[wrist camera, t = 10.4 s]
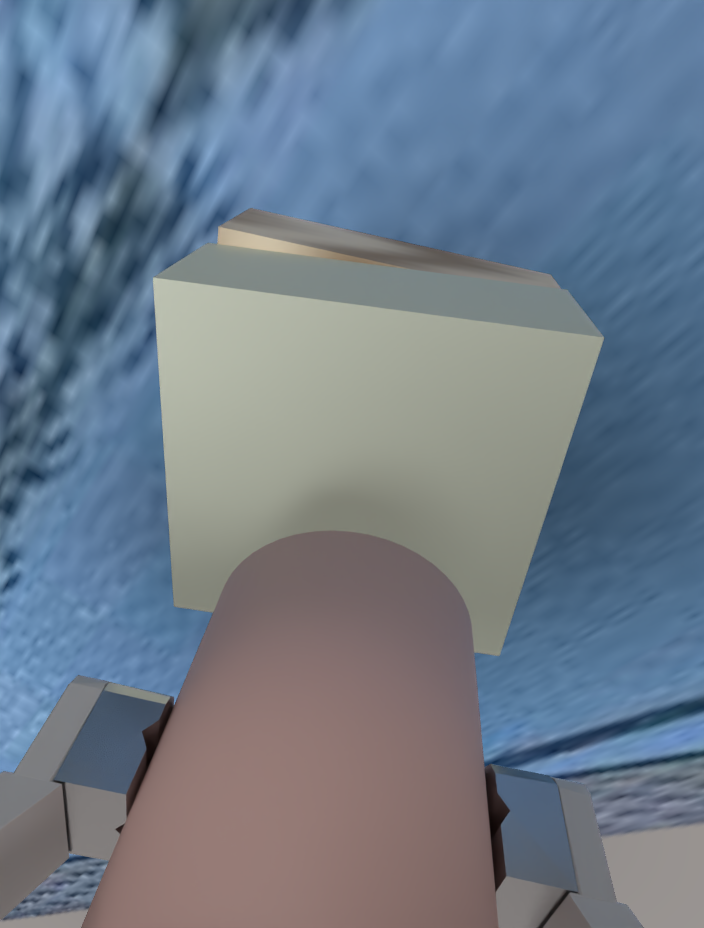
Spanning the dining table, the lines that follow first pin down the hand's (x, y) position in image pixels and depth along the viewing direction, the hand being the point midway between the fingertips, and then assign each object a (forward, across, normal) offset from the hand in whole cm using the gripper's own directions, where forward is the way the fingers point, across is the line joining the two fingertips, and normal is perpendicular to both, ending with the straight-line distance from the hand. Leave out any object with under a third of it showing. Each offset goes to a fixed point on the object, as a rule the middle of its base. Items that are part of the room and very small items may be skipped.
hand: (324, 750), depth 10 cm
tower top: (+11, 0, 0) cm, 11 cm away
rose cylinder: (+3, 0, 0) cm, 3 cm away
